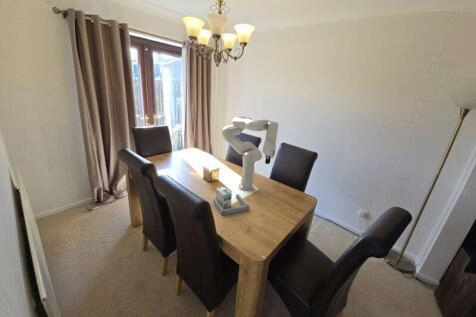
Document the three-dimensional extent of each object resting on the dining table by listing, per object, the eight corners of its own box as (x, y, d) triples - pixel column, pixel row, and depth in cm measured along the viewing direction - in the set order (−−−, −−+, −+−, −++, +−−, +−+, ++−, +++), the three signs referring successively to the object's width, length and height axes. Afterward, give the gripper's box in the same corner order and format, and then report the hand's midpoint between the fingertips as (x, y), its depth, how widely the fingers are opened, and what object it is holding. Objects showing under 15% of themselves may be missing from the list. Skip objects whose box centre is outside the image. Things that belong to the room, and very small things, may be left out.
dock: (213, 201, 145) (213, 198, 144) (237, 197, 153) (238, 193, 152) (222, 215, 130) (222, 211, 129) (248, 209, 139) (249, 205, 138)
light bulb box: (231, 206, 141) (232, 192, 138) (223, 209, 137) (224, 195, 134) (222, 199, 149) (223, 186, 145) (214, 201, 145) (215, 188, 141)
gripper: (260, 137, 149) (257, 160, 155) (272, 142, 136) (268, 167, 142) (269, 136, 152) (266, 159, 158) (281, 142, 139) (277, 166, 146)
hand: (267, 163), depth 150 cm, fingers closed
